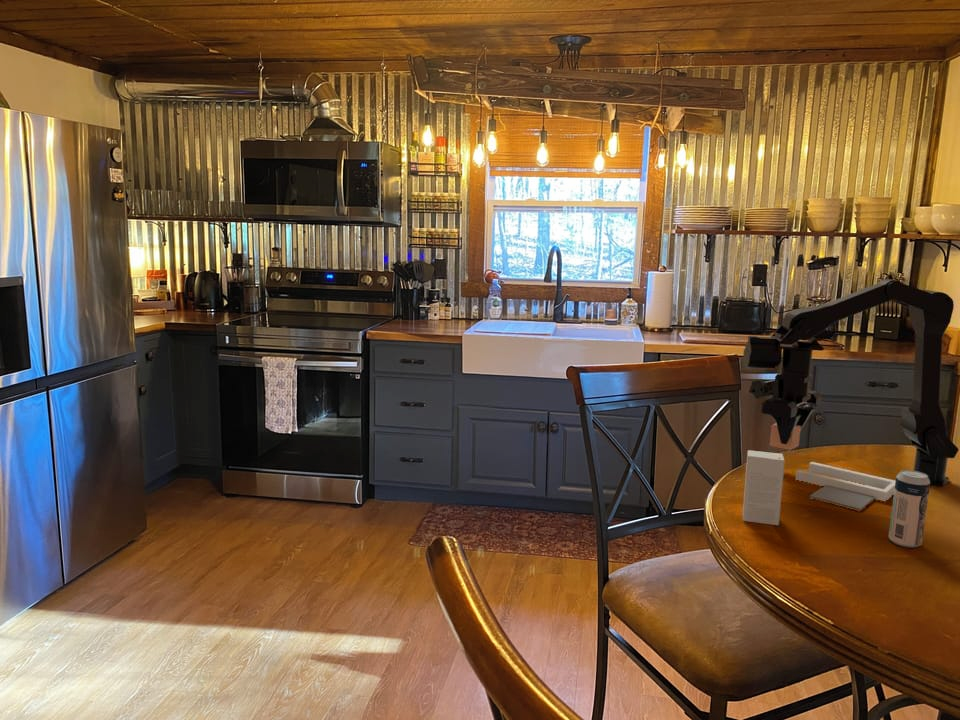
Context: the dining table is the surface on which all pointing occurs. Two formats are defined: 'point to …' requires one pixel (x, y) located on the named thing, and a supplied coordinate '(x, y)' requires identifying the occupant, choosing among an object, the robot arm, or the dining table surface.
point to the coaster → (842, 497)
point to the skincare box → (763, 487)
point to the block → (792, 441)
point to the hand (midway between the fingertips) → (788, 441)
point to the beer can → (909, 508)
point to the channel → (872, 487)
